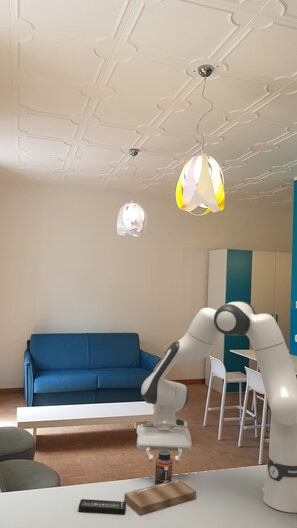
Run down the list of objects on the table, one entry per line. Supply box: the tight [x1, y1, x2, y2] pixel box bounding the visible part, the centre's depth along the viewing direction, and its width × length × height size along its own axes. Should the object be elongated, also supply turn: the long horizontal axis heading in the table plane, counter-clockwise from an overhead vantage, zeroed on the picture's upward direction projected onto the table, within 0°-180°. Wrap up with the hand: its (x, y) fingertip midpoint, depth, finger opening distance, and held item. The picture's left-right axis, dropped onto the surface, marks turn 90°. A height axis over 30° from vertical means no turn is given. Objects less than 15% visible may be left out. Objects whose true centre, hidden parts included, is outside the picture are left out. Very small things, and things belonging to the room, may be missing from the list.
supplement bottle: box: [154, 450, 174, 485], centre depth 160 cm, size 6×6×11 cm
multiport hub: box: [78, 498, 127, 516], centre depth 142 cm, size 4×14×2 cm, turn 88°
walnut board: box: [123, 478, 197, 516], centre depth 149 cm, size 22×10×3 cm, turn 123°
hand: (163, 461), depth 162 cm, fingers open, 8 cm apart
